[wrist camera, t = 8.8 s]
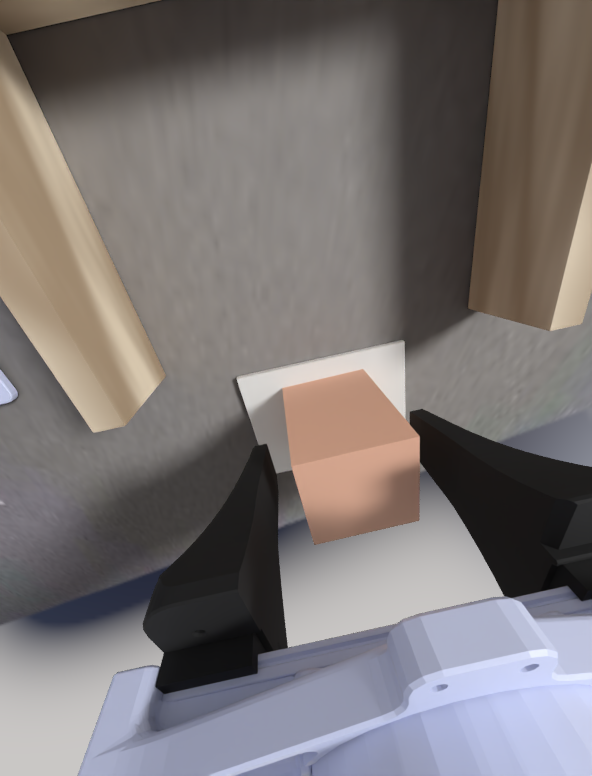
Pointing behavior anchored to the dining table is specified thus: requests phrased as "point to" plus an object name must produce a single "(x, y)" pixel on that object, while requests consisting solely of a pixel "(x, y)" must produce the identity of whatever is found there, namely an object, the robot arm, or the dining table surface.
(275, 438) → the pad
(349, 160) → the dining table surface
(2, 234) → the wooden u-shaped frame
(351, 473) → the block
